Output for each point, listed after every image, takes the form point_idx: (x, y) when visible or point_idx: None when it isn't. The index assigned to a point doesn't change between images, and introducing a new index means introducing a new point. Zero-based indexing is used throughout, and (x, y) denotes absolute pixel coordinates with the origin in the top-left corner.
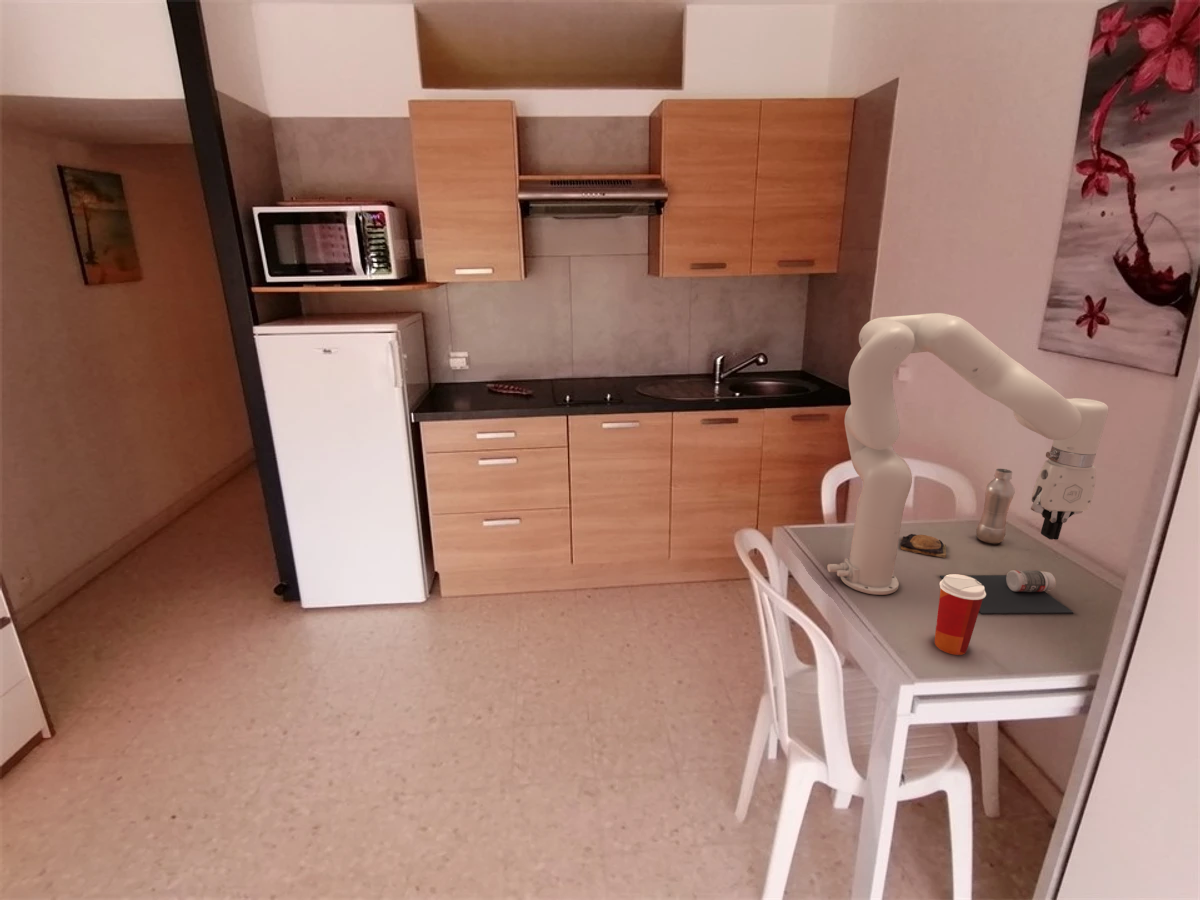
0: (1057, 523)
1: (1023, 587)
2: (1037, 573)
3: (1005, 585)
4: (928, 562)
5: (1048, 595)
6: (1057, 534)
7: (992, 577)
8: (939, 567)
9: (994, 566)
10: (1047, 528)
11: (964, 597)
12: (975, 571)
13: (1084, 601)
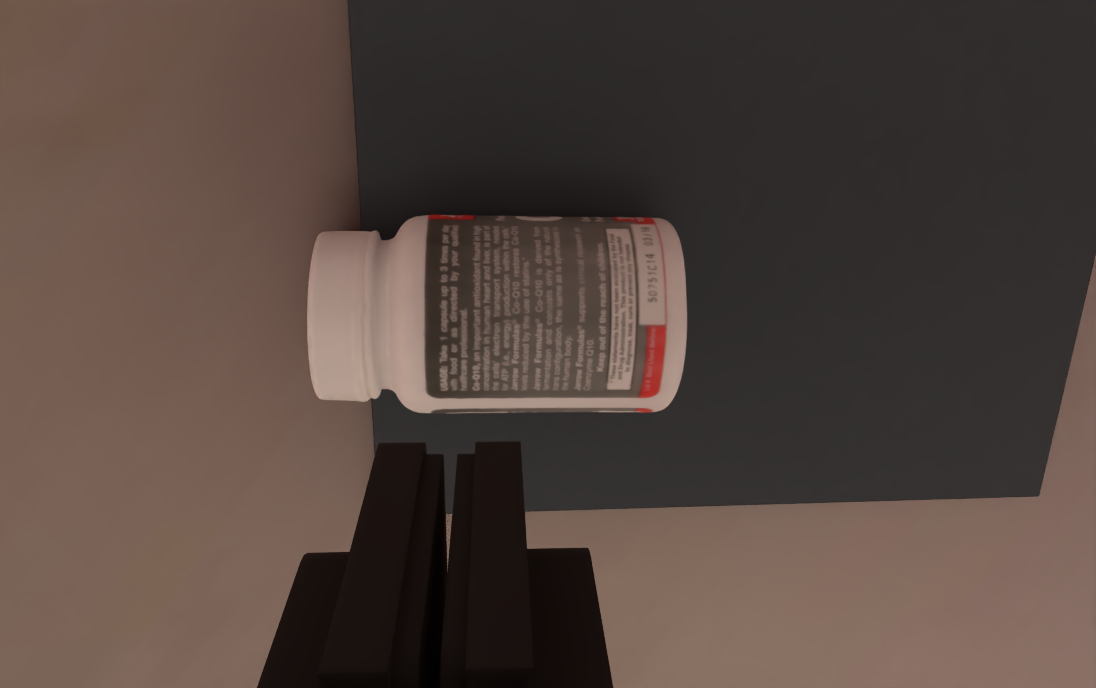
0: (472, 668)
1: (631, 217)
2: (473, 321)
3: None
4: (951, 680)
5: (379, 198)
6: (409, 492)
7: (654, 475)
8: (925, 618)
9: None
10: (597, 624)
11: None
12: (698, 572)
13: (92, 121)
